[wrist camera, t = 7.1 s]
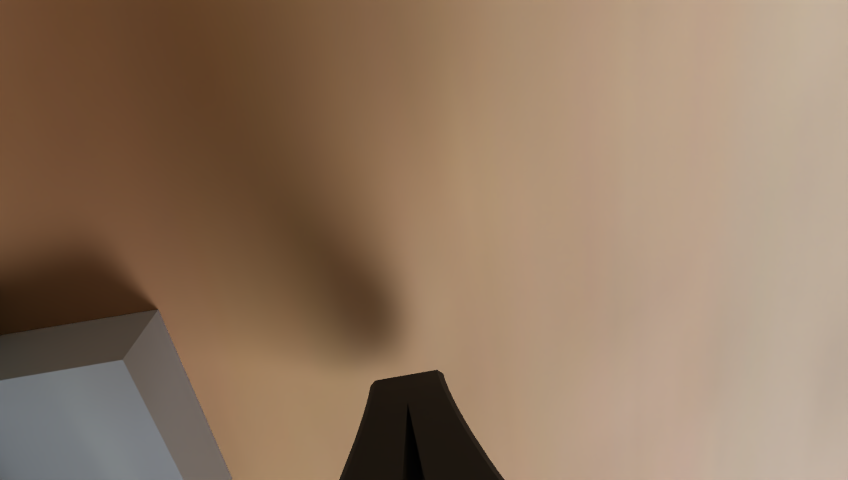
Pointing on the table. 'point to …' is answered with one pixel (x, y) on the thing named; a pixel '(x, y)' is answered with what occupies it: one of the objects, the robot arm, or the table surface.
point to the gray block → (102, 405)
